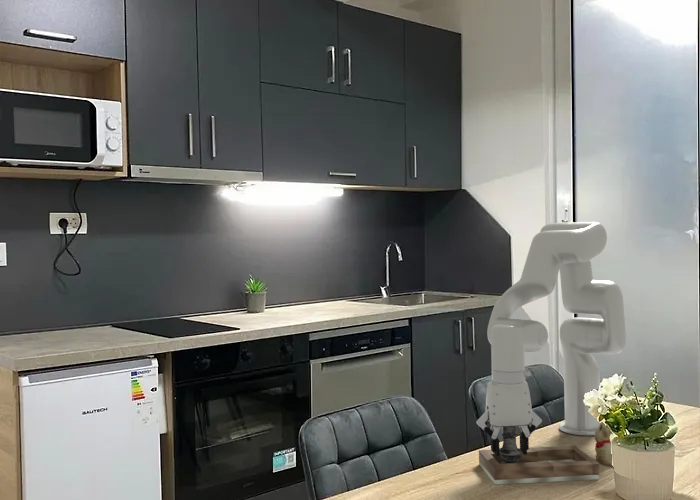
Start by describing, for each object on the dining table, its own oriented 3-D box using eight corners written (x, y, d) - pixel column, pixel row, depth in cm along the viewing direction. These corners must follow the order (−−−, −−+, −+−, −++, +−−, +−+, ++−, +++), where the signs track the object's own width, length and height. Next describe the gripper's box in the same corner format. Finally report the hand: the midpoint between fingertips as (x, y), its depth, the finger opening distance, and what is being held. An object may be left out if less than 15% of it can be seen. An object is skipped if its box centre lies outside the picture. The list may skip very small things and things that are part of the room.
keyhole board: (575, 459, 176) (574, 445, 176) (599, 479, 162) (598, 463, 162) (479, 464, 175) (478, 450, 175) (494, 484, 161) (494, 468, 161)
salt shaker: (521, 462, 171) (520, 411, 170) (524, 470, 165) (523, 418, 165) (496, 461, 171) (494, 412, 171) (498, 470, 166) (497, 418, 165)
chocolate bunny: (619, 457, 177) (618, 417, 177) (617, 467, 170) (617, 425, 170) (595, 455, 180) (594, 415, 179) (593, 465, 172) (592, 423, 172)
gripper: (538, 372, 172) (540, 447, 172) (467, 375, 171) (469, 450, 171) (549, 378, 164) (551, 456, 165) (475, 381, 163) (477, 460, 164)
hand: (509, 452), depth 168 cm, fingers closed on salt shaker, 5 cm apart
